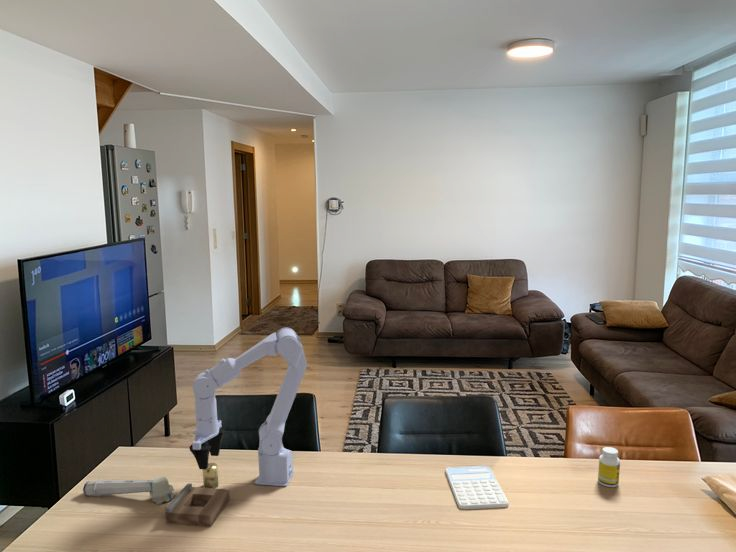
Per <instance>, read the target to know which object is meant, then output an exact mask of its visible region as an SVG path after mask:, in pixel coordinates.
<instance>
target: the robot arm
mask: <svg viewBox="0 0 736 552" xmlns="http://www.w3.org/2000/svg"><path fill="white" fill-rule="evenodd" d="M277 353H278V355H279V356H280V357H282V358H283V359H284V360H285V361H286V363H287V365H288V366H287V369H286V371H285V375H284V377H283V380H282V382H281V384H280V387H279V390H278V393H277V395H276V397H275V400H274V403H273V405H272V407H271V410H270V413H269V415H268V416H267V417H266V420H265V421H264V422H263V423H262V424H261V425H260V427H259V429H258V437H259V444H258V446H259V447H258V448H257V456H258V477H257V478H256V480H255V481H254V485H261V486H262V485H263V486H276V487H286V486H288V484H289V482H290V480H291V479H292V478H293V475H294V473H295V471H294V459H293V451H292V450H290V449H287V448H285V447H284V444H283V435H284V432H285V426H286V421H287V419H288V416H289V413H290V412H291V409H292V406H293V403H294V401H295V399H296V397H297V392H298V391H299V388H300V385H301V383H302V380H303V378H304V375H305V373H306V370H307V366H308V363H307V359H306V354H305V351H304V347H303V344H302V341H301V339H300V337H299V336H298V333H296V331H295V330H294V329H292V328H290V327H282V328H280V329H278V330H277V332H275V331H274V332H273V333H271V334H269V335H267V336H266V337H265V338H264V339H262V340H261V341H259V342H258V343H256V344H255V345H253V346H252V347H250V348H249V349H247V350H246V351H245V352H242V353H241V354H240V355H239V356H238V357H236V358H232V357H228V358H226V359H225V358H222V359H220V360H219V363H218V364H216V365H215V366H213V367H211V368H210V369H209V368H207V369H205V370H204V372H201V373H198V374H197V376H195V378H194V381H193V385H192V391H193V392H192V393H193V394H194V411H195V413H194V415H195V429H193V431H192V434H193V435H195V436H194V439H193V441H192V444H190V445H189V451H190V453H191V454H192V455H193V457H194V458H195V461H196V463H197V466H198V468H199V470H203V469H204V470H206V469H207V468H208V463H209V455H210V456H211V457H218V456H219V455H220V450H221V446H222V442H223V437H224V435H225V433H226V430H225V429H224V428H222V420H221V419H219V420H218V409H217V407H218V406H217V398H216V390H217V389H219V388H221V387H223V386H225V385H227V384H228V383H229V382H231V381H233V380H234V379H236V378H237V377H239V376H240V374H241V370H243V369H244V368H246V367H247V366H249V365H251V364H252V363H254V362H256V361H258V360H260V359H261V358H263V357H266V356H270V357H271V356H272V357H277ZM206 442H208V443H207V444H208V445H206V444H205V443H206Z"/></svg>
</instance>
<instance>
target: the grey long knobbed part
mask: <svg viewBox="0 0 736 552" xmlns="http://www.w3.org/2000/svg"><path fill="white" fill-rule="evenodd" d="M174 490H175V489H174V486H173V485H172V484H169V481H168V478H166V476H159V477H155V478H154V479H127V480H126V479H124V480H123V479H116V480H113V479H112V480H111V479H110V480H109V479H106V480H104V479H100V478H99V479H97V480H89V481H86V482H85V483H84V484H83V488H82V491H83V495H84V496H86V497H98V498H99V497H101V496H113V495H122V494H123V495H125V494H126V495H128V494H138V493H149V496H150V498H152V501H153V503H156V505H157V504H161V505H162V504H163V503H164V502H169V501H170V502H171V501H173V499H174V498H175V497H174V492H173V491H174Z"/></svg>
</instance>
